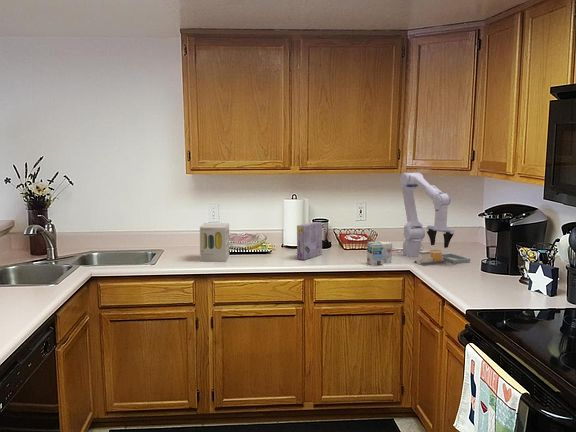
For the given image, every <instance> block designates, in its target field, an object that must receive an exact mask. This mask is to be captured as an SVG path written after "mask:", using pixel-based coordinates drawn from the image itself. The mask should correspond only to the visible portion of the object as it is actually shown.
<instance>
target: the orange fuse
mask: <svg viewBox="0 0 576 432" xmlns="http://www.w3.org/2000/svg"><path fill="white" fill-rule="evenodd" d="M442 254H443V250H442V249H439V248H438V249H430V257H431V258H433V262H434V261H441V259H442Z"/></svg>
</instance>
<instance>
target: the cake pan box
mask: <svg viewBox="0 0 576 432" xmlns="http://www.w3.org/2000/svg"><path fill="white" fill-rule="evenodd" d="M296 254H297V255H296V257H297V258H296V259H298V260H302V261H304V260H309V259H312V258H315V257H316V258H317V257H319V256H322V255H323V222H322V221H313V222H310V223H309V222H308V223H307V222H306V223H303V224H298V225H296Z"/></svg>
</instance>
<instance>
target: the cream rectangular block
mask: <svg viewBox="0 0 576 432" xmlns="http://www.w3.org/2000/svg"><path fill="white" fill-rule="evenodd" d="M417 258H419V259H421V263H424V262H430V251H429V250H421V251H418V257H417Z"/></svg>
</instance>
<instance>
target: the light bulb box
mask: <svg viewBox="0 0 576 432" xmlns="http://www.w3.org/2000/svg"><path fill="white" fill-rule="evenodd" d="M366 249H367V252H366V253H367V254H366V263H367V264H368V265H370V266H372V267H374V266H375V267H377V266H383V265H384V264H392V258H393V257H392V254H393V253H392V252H393V243H391V242H389V241H388V240H386V241H367V248H366Z"/></svg>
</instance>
